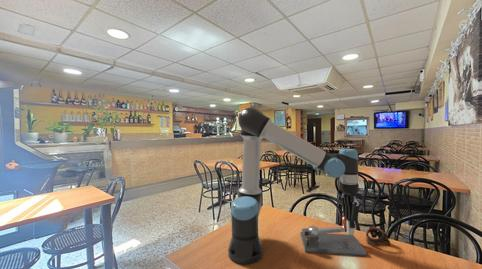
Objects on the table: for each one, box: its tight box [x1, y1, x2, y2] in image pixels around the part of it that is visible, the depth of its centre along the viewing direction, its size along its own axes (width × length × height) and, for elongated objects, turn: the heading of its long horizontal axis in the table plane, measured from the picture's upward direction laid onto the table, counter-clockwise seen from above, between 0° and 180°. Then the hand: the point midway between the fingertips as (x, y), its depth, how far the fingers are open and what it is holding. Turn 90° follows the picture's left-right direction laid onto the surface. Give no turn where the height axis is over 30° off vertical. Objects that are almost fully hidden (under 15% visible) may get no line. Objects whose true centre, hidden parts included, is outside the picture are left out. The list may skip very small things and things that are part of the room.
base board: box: [300, 231, 367, 257], centre depth 96 cm, size 25×14×7 cm, turn 82°
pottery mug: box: [365, 225, 391, 246], centre depth 98 cm, size 12×10×8 cm
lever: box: [301, 215, 347, 241], centre depth 98 cm, size 22×4×9 cm, turn 97°
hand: (350, 233), depth 95 cm, fingers closed
